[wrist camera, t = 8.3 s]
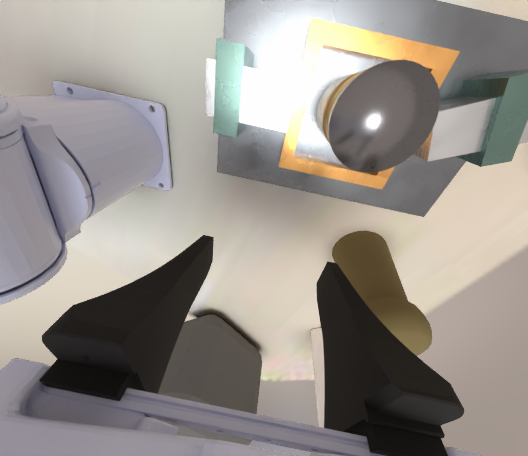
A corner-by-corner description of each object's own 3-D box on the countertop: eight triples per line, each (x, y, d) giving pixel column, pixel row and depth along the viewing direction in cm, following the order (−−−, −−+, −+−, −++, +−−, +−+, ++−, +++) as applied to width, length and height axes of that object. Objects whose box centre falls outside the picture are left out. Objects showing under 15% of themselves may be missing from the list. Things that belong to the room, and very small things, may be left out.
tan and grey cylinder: (329, 154, 17) (349, 187, 11) (305, 100, 15) (313, 106, 9) (388, 122, 15) (447, 141, 9) (368, 55, 13) (428, 28, 7)
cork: (376, 222, 21) (439, 319, 12) (393, 259, 24) (456, 362, 15) (323, 244, 24) (343, 339, 15) (344, 276, 26) (371, 373, 17)
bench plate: (219, 167, 20) (202, 185, 16) (230, -38, 12) (204, -93, 9) (420, 211, 20) (450, 239, 16) (548, 35, 13) (658, 12, 9)
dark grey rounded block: (170, 318, 37) (107, 438, 24) (216, 303, 33) (168, 438, 20) (225, 358, 44) (198, 468, 31) (269, 350, 40) (258, 473, 27)
